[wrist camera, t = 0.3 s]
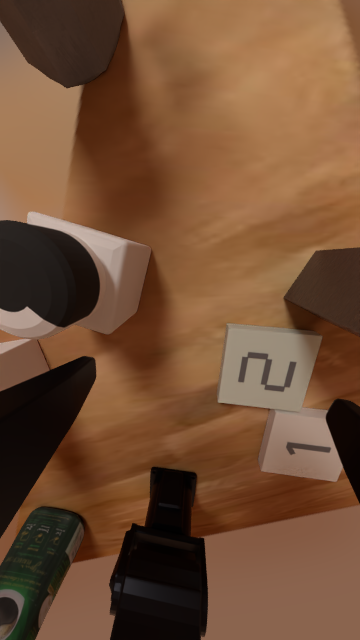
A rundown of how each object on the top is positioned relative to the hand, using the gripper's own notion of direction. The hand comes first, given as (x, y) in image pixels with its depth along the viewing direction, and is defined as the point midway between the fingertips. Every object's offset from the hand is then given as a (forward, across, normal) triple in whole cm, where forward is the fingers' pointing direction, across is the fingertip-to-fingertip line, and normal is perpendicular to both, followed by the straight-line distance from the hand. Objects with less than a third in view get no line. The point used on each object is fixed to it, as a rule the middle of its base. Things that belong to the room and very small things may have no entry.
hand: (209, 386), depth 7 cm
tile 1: (+12, -15, +16) cm, 25 cm away
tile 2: (+13, -8, +7) cm, 17 cm away
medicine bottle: (+14, +10, 0) cm, 18 cm away
